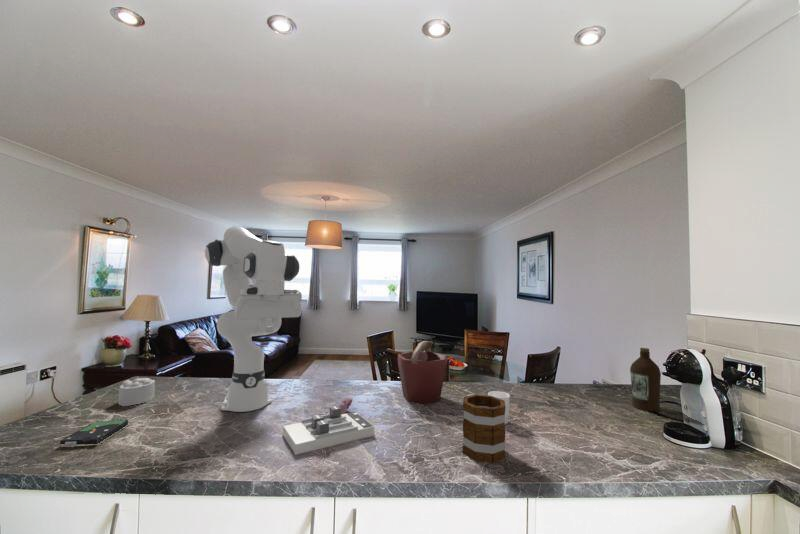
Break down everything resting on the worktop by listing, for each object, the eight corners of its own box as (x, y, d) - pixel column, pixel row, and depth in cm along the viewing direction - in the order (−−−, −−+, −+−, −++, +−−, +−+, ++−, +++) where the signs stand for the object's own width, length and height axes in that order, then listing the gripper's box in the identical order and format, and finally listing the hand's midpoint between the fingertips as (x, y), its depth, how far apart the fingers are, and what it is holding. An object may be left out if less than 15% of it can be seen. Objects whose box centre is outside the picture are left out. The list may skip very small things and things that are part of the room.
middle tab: (311, 426, 111) (311, 416, 111) (320, 425, 113) (320, 414, 113) (314, 430, 108) (314, 419, 109) (323, 428, 110) (323, 417, 110)
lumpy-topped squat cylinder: (157, 396, 148) (158, 376, 148) (138, 406, 135) (140, 384, 136) (131, 396, 147) (133, 376, 147) (110, 407, 134) (111, 385, 134)
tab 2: (329, 417, 120) (329, 406, 120) (337, 415, 121) (337, 405, 121) (332, 420, 117) (332, 409, 117) (340, 418, 119) (341, 408, 119)
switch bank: (283, 435, 112) (283, 422, 112) (355, 419, 126) (355, 408, 126) (295, 454, 99) (295, 440, 99) (374, 435, 113) (374, 423, 113)
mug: (515, 461, 98) (515, 408, 99) (470, 464, 96) (470, 410, 97) (487, 432, 117) (487, 388, 118) (449, 434, 115) (450, 389, 116)
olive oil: (640, 402, 152) (639, 345, 153) (667, 410, 142) (665, 349, 143) (625, 405, 148) (624, 346, 149) (651, 413, 138) (649, 351, 139)
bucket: (417, 387, 168) (418, 336, 169) (458, 396, 155) (459, 341, 157) (387, 400, 148) (388, 342, 150) (431, 411, 135) (432, 348, 137)
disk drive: (98, 448, 103) (128, 427, 117) (99, 438, 103) (128, 418, 117) (58, 450, 101) (94, 428, 115) (59, 440, 101) (94, 420, 116)
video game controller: (339, 423, 126) (348, 407, 126) (329, 416, 127) (337, 400, 127) (348, 413, 136) (356, 398, 136) (338, 407, 137) (346, 392, 137)
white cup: (511, 419, 129) (511, 392, 129) (508, 427, 122) (508, 398, 122) (489, 416, 132) (490, 389, 133) (486, 423, 125) (486, 395, 126)
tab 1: (316, 432, 107) (316, 421, 107) (325, 430, 108) (325, 419, 109) (319, 436, 104) (319, 424, 104) (328, 434, 106) (329, 422, 106)
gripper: (299, 289, 119) (297, 329, 118) (234, 289, 108) (233, 332, 108) (304, 290, 114) (303, 331, 113) (237, 289, 103) (235, 335, 102)
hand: (268, 332), depth 110 cm, fingers closed
